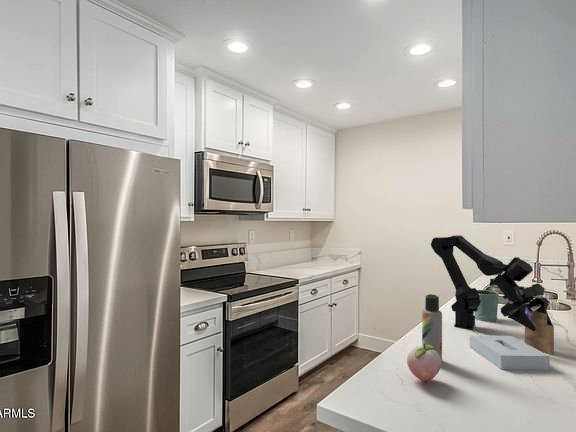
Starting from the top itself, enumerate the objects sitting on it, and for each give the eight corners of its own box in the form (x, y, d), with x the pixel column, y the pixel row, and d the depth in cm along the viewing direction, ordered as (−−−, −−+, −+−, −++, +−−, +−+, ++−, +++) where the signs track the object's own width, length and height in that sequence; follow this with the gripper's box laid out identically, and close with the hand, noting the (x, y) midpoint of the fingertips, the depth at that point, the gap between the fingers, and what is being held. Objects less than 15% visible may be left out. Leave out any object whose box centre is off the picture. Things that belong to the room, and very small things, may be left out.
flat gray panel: (469, 347, 120) (469, 335, 120) (510, 347, 120) (510, 335, 120) (500, 369, 102) (500, 355, 102) (549, 369, 102) (549, 355, 102)
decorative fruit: (414, 371, 101) (414, 336, 101) (444, 379, 96) (444, 342, 96) (401, 382, 93) (401, 344, 94) (433, 392, 88) (433, 352, 88)
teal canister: (501, 319, 155) (501, 292, 156) (495, 324, 148) (495, 295, 148) (476, 315, 162) (476, 288, 162) (469, 319, 155) (469, 292, 155)
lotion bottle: (441, 358, 110) (441, 294, 111) (442, 365, 105) (442, 297, 105) (421, 355, 112) (421, 292, 113) (422, 362, 107) (422, 296, 107)
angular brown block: (524, 346, 121) (524, 310, 121) (528, 346, 122) (528, 309, 122) (550, 354, 114) (550, 316, 114) (553, 354, 115) (553, 315, 115)
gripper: (509, 277, 118) (544, 318, 108) (543, 274, 126) (579, 312, 116) (487, 296, 125) (518, 337, 115) (520, 292, 133) (553, 330, 123)
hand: (543, 328), depth 117 cm, fingers open, 9 cm apart
